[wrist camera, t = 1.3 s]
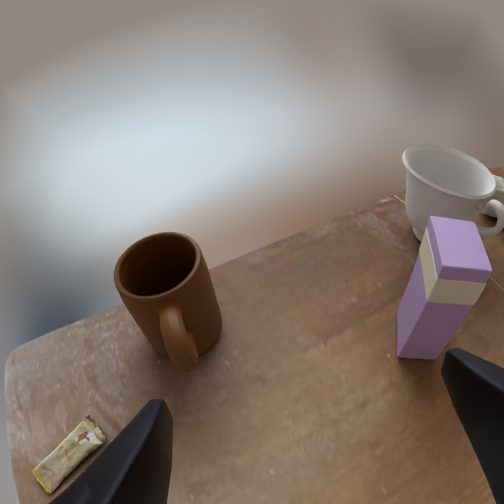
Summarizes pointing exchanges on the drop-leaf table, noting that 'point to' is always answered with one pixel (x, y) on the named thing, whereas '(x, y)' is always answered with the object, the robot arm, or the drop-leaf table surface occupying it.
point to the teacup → (448, 188)
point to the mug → (170, 296)
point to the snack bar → (69, 454)
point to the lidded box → (441, 287)
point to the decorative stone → (496, 195)
